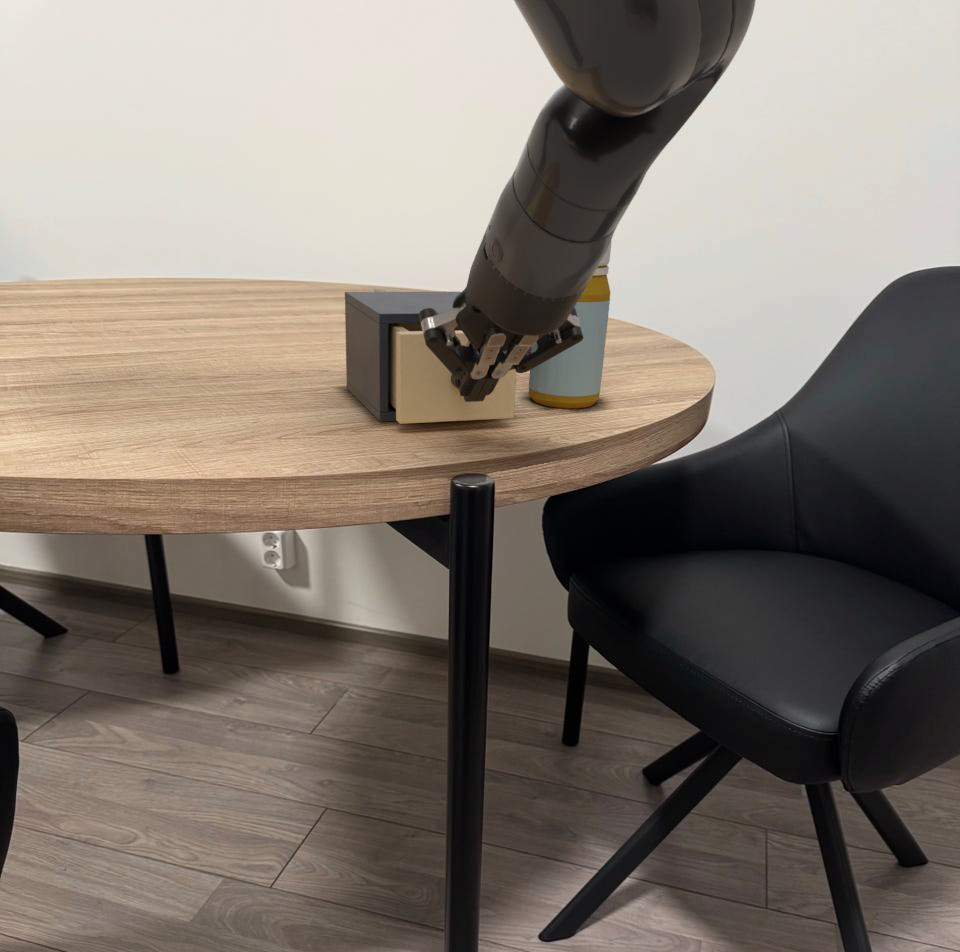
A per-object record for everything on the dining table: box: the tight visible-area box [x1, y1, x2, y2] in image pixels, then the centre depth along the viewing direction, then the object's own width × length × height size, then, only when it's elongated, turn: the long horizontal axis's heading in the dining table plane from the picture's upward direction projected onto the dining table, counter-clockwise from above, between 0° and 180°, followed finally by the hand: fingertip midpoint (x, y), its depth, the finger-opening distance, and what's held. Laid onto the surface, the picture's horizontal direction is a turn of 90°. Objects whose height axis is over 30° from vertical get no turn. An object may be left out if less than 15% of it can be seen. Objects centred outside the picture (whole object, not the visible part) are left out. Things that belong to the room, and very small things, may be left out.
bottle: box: [528, 240, 613, 409], centre depth 89 cm, size 7×7×15 cm
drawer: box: [388, 323, 518, 425], centre depth 83 cm, size 13×10×7 cm
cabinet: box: [344, 291, 462, 423], centre depth 88 cm, size 13×12×9 cm
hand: (470, 391), depth 77 cm, fingers closed
